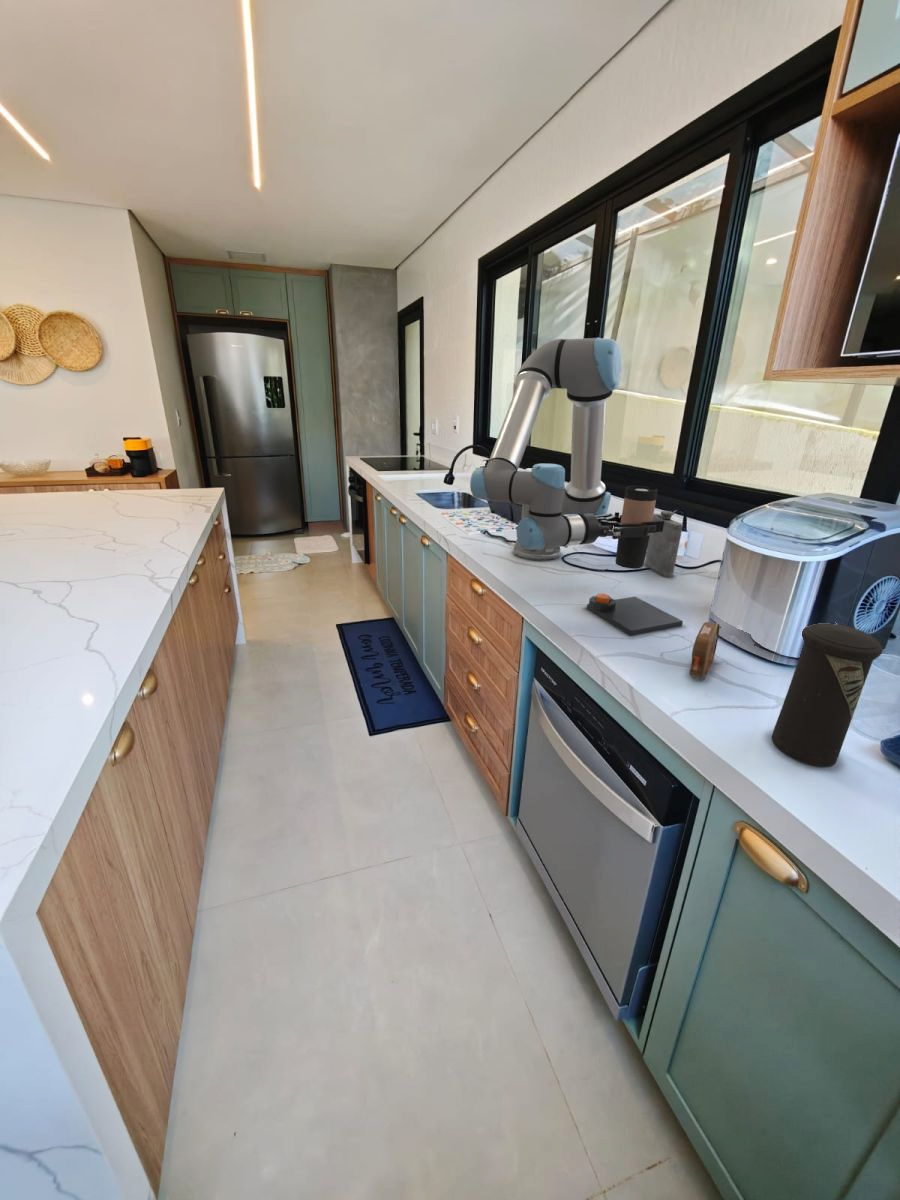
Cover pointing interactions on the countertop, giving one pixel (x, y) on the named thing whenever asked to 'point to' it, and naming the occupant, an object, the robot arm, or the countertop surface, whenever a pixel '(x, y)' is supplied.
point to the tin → (704, 650)
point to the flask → (664, 545)
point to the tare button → (602, 598)
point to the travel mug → (635, 512)
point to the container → (824, 692)
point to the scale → (633, 615)
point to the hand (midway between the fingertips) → (650, 522)
